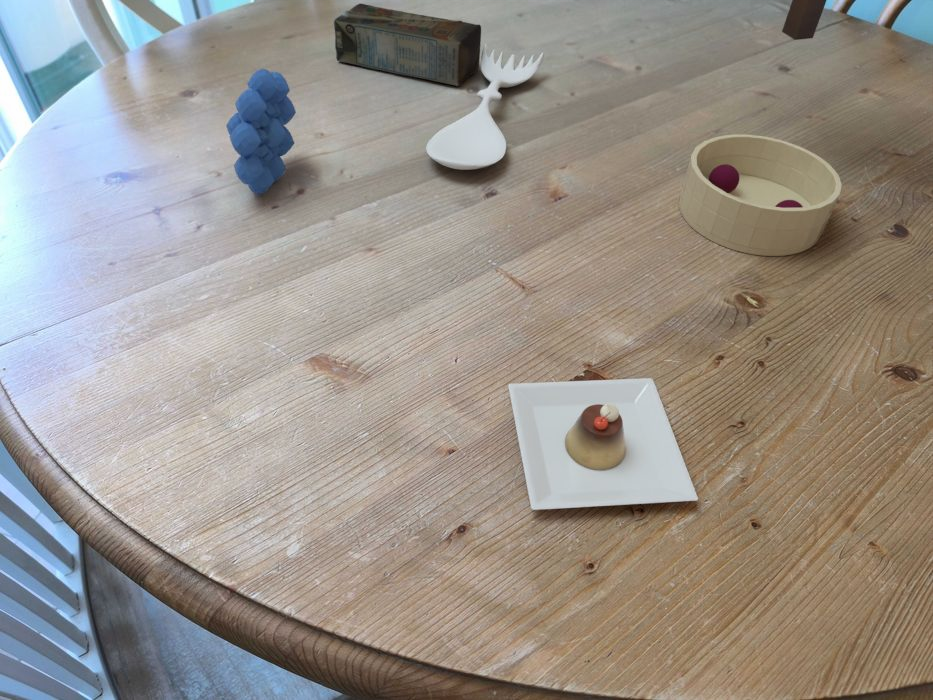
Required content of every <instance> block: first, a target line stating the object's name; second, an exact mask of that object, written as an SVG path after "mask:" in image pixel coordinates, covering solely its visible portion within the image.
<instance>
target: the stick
mask: <svg viewBox="0 0 933 700" xmlns="http://www.w3.org/2000/svg"><path fill="white" fill-rule="evenodd" d="M827 1H828V0H791V4H790V6H789V9H788V12H787V14H786V18H785V21H784V23H783V27H782V30H781V32H782V33H783V34H785V35H786V36H788V37H789V38H791V39H793V40H794V41H798V40H799V41H800V40H809V39H813V38H814V36H815V34H816V30H817V28H818V26H819V22H820V20H821V17H822V14H823V11H824V9H825V6H826V4H827Z"/></svg>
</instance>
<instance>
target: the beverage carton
mask: <svg viewBox="0 0 933 700" xmlns="http://www.w3.org/2000/svg"><path fill="white" fill-rule="evenodd" d="M333 27H334V29H333V30H334V48H335V53H336V54H335V55H336V57H335V58H336V60H337V62H340V63H346V64H351V65H355V66H359V67H364V68H367V69H373V70H378V71H379V70H380V71H382V72H387V73H392V74H397V75H402V76H408V77H413V78H419V79H423V80H428V81H433V82H438V83H443V84H447V85H452V86H455V87H460V86H461V85H462V84H463V83H464V82H465V81H466V80H467V79H468V78H469V77H470V76H472V74H473V73H475V72H476V70H478V69H479V67H480V60H481V44H482V43H481V42H482V25H481V24H475V23H471V22H466V21H463V20H453V19H447V18H442V17H436V16H429V15H425V14H418V13H413V12H406V11H402V10H397V9H392V8H391V9H390V8H383V7H379V6H375V5H370V4H366V3H360V2H359V3H358V4H356V5H354V6H353V7H351V8H349V10H348V9H347V10H344V11H343V13H342V14H341V15H339V16H337V17H336V18H334V20H333Z"/></svg>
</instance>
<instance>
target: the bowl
mask: <svg viewBox="0 0 933 700" xmlns="http://www.w3.org/2000/svg"><path fill="white" fill-rule="evenodd" d="M724 164H727V165H731V166H733V167H734V168H735V169H736V170H737V171H738V173H739V183H738V186H737V187H736V188H735V189H734V190H733V191H732V192H730V193H726V192H725V191H723V190H721V189H720V188H718V187H716V186H715V185H713V184H712V183H711V182H710V181H709V176H710V173H711V172H712V170H713V169H714V168H716V167H717V166H719V165H724ZM842 186H843V184H842V181H841V178H840V175H839V173H838V172H837V170H835V169H834V167H832V165H831V164H830V163H828V161H826V160H825V159H823V158H822V157H820V156H819V155H817V154H816V153H814V152H812V151H810V150H808V149H806V148H805V147H802V146H800V145H797V144H794V143H791V142H789V141H786V140H781V139H778V138H774V137H770V136H764V135H755V134H743V133H742V134H739V133H737V134H734V133H733V134H726V135H719V136H715V137H712V138H709V139H706V140H703V141H702V142H701V143H700V144H698V145H696V146H695V148H694V149H693V152H692V153H691V155H690V158H689V162H688V165H687V168H686V172H685V176H684V178H683V183H682V187H681V191H680V195H679V201H678V206H679V207H678V208H679V211H680V213H681V216H682V217H683V219H684V221H685V222H686V223H687V225H689V226H690V227H691V228H692V229H693V230H694V231H695V232H697V233H698V234H699V235H700V236H702V237H704V238H705V239H707V240H709V241H710V242H712V243H715V244H717V245H719V246H721V247H724V248H726V249H729V250H733V251H735V252H740V253H744V254H749V255H755V256H761V257H762V256H763V257H784V256H791V255H795V254H801V253H802V252H805V251H808V250H809V249H810V248H812V247H814V245H816V244H817V243H818V241H819V240H820V239H821V236H822V234H823V233H824V231H825V230H826V226H827V224H828V222H829V220H830V218H831V215H832V213H833V211H834V209H835V206H836V205H837V203H838V200H839V198H840V195H841V192H842ZM784 200H795V201H797V202H799V203H800V204H801V205H802V206H803V207H801V208H781V207H775V206H776V205H777V204H778V203H780V202H782V201H784Z"/></svg>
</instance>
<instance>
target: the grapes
mask: <svg viewBox="0 0 933 700" xmlns="http://www.w3.org/2000/svg"><path fill="white" fill-rule="evenodd" d="M247 81H248V82H247V83H246V84H247V87H248V88H247V89H245V90H244V91H242V93H240V95H239V96H238V98H237V99H236V101H235V103H234V105H235V108H236V111H237V112H235V113H234V114H233V115H232V116H231V117H230V118H229V121H228V122H227V123H226V129H227V132H228V135H229V141H230V143H231V145H232V147H233V149H234V151H235V152H236V153H237V154H238V155H239V157H238V158H237V159H236V161H235V162H234V164H233V168H234V172H235V173H236V176H237V178H238V179H239V180H240V181H241V183H242V184H244V185H247V186H248V188H249V189H250V190H251V192H252V193H253V194H256V195H262V194H265V193H266V192H267V191H268V190H269V188H271V187H272V186H273V184H274V183H275V182H277V181H279V179H281V177H282V176H283V175H284V174H285V173H286V171H287V168H286V166H285V163H284V160H283V158H282V156H285V155H286V154H287V153H289V151H290V150H291V149H292V148H293V146H294V145H295V141H294V137H293V135H292V133H291V132H290V130H289V129H288V128H287V127H286V125H288V123H289V122H290V121H292V119H293V117H294V116H295V115H296V113H297V112H296V107H295V106H294V104H293V101H292V100H291V98H289V96H288V94H289V93H290V91H291V89H290V86H289V84H288V82H287V80H286V78H285V77H284V75H282V73H280V72H278V71H276V70H274V71H272V72H270V71H269V70H268V69H266V68H263V67H262V68H259V69H257V70H256V71H255V72H254V73H253V74H252V75H251V76H250V78H249V80H247Z"/></svg>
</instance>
